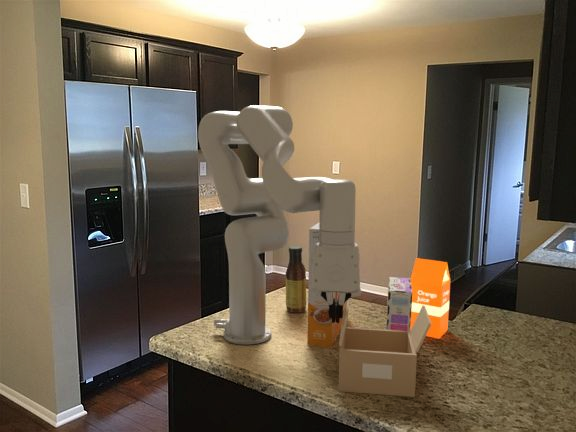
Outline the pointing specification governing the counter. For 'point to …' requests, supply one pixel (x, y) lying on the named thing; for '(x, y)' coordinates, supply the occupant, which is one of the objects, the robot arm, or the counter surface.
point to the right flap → (420, 328)
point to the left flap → (344, 322)
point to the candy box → (399, 304)
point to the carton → (377, 362)
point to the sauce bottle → (295, 281)
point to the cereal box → (320, 307)
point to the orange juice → (431, 294)
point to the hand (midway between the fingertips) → (335, 320)
